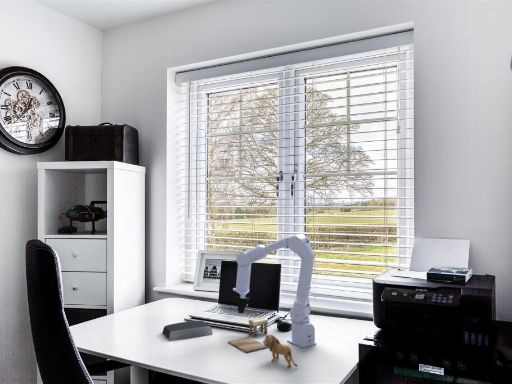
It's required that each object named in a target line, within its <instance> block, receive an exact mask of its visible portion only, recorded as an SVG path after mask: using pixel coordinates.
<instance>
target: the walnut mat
mask: <svg viewBox="0 0 512 384" xmlns="http://www.w3.org/2000/svg"><path fill="white" fill-rule="evenodd" d="M227 343H228V344H229V345H231V344H232V346H233V347H235V348H237V349H238V348H239V350H240V351H242V352H243V353H245V352H246V354H248V353H252V352H253V353H254V352H257V350H258V351H261V349H262V350H265V348H266V349H268V348H267V346H264V344H263V342H259V340H256V339H254V338H252V337H251V336H245V337H241V338H237V339H233V340H228V342H227Z"/></svg>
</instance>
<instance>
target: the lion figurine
mask: <svg viewBox="0 0 512 384" xmlns="http://www.w3.org/2000/svg"><path fill="white" fill-rule="evenodd" d="M262 344H264V346H267V348H266V349H268V350H269V352H271V354H272V359H271V362H276V360H279V358H280V355H281V356H283V357H284V359H285V362H287V369H290V368H291V367H292V365H291V364H293V365H294V366H295V367H299V366H298V364H297V363H295V361H294V358H293V354H292V349H291V346H289V345H286V344H285V345H284V344H282V343H281V342H280V340H279V339H278V338H277V337H276V336H274V335H273V334H269V333H267V334H265V338H264V340H263V341H262Z"/></svg>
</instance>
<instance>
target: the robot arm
mask: <svg viewBox="0 0 512 384" xmlns="http://www.w3.org/2000/svg"><path fill="white" fill-rule="evenodd" d="M282 248H284V249H285V250H288V249H289V250H290V251H291V252H293V253H294V254H295V255H296V254H297V256H298V257H299V258H300V260H301V263H300V268H299V274H298V280H297V281H298V282H297V289H296V296H295V299H294V302H293V306H292V308H291V309H290V310H289V317H290V319H291V338H289V339H287V342H289V343H291V344H293V345H295V346H297V347H299V348H306V347H309V346H313V345H317V342H316V339H315V338H316V335H315V334H316V330H315V326H314V325H313V324H312V323H311V322H310V317H309V315H310V314H311V312H312V311H311V310H312V308H311V305H310V301H311V300H310V297H309V296H310V290H311V283H312V276H313V271H314V264H315V263H314V262H315V253H314V250H313V247H312V245H311V240H310V239H309V238H308V237H307V236H306V235H305V234H304V233H298V234H295V235H291V236H287V237H283V238H281V239H278V240H276V241H274V242H271V243H270V244H267V245H266V246H265V245H264V244H256V245H255V246H254V247H252V248H248V249H245V250H246V251H242V252H239V253H238V254H237V255H236V263H237V272H236V273H237V274H236V281H235V282H236V284H235V287H233V288H232V291H233V292H234V293H235V299H236V303H237V311H238V312H237V313H238V314H244V313H245V310H246V306H247V303H248V302H249V300H250V297H248V296H247V295H248V293H250V282H251V273H252V272H251V270H252V264H253V263H256V262H258V261H260V260H263V259H265V258H267V256H268V254H269V253H272V252H274V251H277V250H279V249H282Z"/></svg>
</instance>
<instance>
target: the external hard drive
mask: <svg viewBox="0 0 512 384" xmlns="http://www.w3.org/2000/svg"><path fill="white" fill-rule="evenodd" d="M213 334H214V333H213V330H212V328H211V326H210V325H209V324H207V323H206V322H205V321H203V320H192V321H183V322H176V323H170V324H167V325H164V327H163V329H162V335H163V336H164V337H166V339H167V340H168V341H169V342H172V341H173V342H174V341H180V340H188V339H195V338H200V337H206V336H210V335H213Z"/></svg>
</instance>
